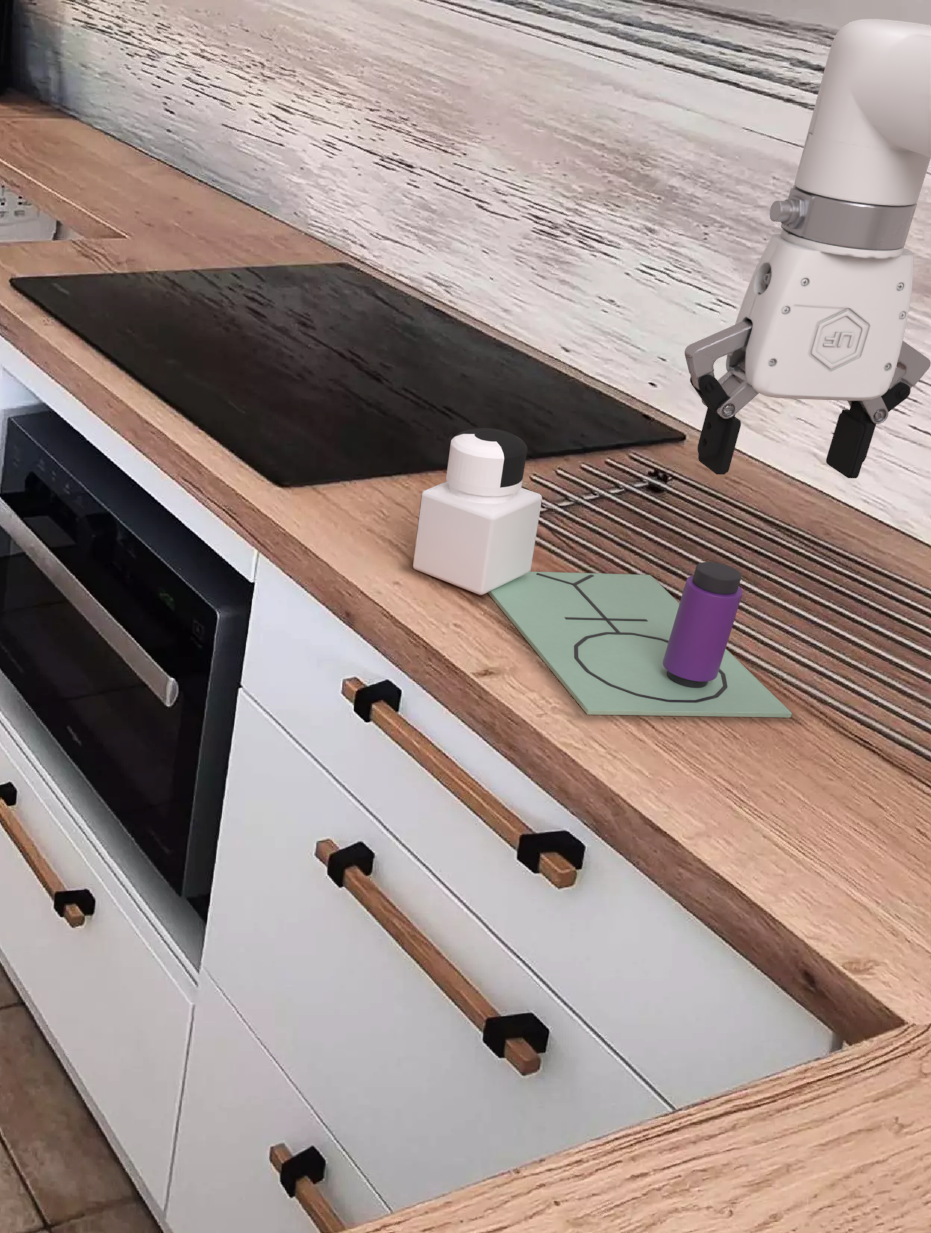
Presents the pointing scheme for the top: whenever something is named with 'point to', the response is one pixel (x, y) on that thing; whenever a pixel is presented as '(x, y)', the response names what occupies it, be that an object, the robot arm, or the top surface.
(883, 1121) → the top surface
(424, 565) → the medicine bottle
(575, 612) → the sketch card
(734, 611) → the cylinder
